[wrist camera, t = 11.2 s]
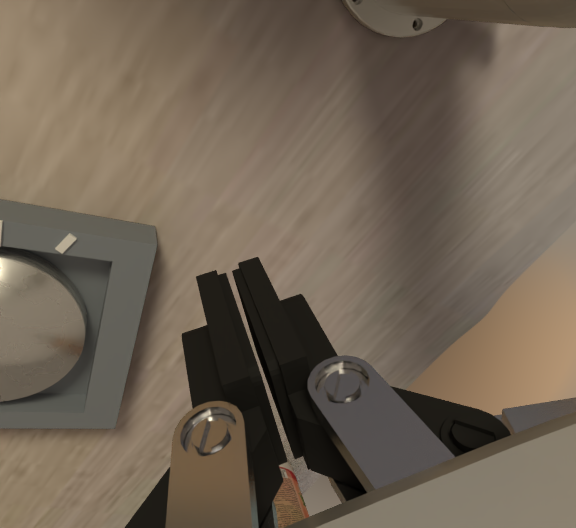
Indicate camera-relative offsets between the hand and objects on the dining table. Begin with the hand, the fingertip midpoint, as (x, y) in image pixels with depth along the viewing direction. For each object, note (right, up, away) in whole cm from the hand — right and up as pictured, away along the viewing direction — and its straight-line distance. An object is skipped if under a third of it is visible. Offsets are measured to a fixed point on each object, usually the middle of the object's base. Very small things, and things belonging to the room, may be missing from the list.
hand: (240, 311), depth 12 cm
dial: (-23, -3, +25) cm, 34 cm away
